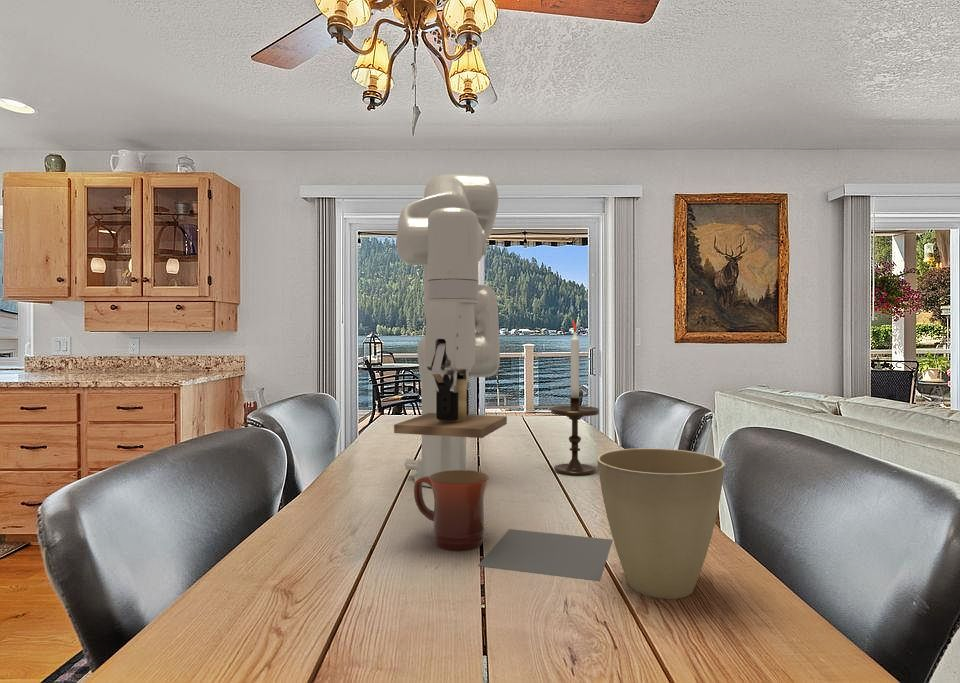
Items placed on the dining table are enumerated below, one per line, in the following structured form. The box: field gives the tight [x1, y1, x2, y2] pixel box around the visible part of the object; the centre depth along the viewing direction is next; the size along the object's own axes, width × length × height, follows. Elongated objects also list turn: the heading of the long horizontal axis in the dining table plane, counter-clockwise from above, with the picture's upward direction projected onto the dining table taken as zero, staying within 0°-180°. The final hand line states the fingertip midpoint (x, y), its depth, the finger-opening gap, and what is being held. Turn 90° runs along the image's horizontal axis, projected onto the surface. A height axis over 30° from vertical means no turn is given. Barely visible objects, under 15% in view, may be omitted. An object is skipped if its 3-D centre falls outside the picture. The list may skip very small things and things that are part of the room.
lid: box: [393, 379, 508, 439], centre depth 89 cm, size 13×13×7 cm
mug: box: [413, 469, 490, 552], centre depth 90 cm, size 12×9×10 cm
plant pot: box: [596, 447, 726, 600], centre depth 74 cm, size 15×15×16 cm
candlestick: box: [550, 318, 600, 477], centre depth 138 cm, size 11×11×35 cm
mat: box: [477, 528, 614, 582], centre depth 85 cm, size 16×16×1 cm
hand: (452, 416), depth 89 cm, fingers closed on lid, 4 cm apart
